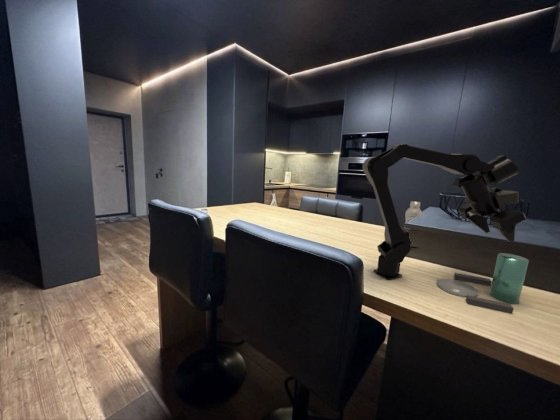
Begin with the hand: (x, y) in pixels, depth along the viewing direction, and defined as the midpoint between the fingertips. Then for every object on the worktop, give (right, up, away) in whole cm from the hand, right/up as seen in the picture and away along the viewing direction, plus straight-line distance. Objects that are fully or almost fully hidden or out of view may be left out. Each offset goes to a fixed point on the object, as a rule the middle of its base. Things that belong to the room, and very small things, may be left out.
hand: (499, 236), depth 72 cm
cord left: (-6, -15, +3) cm, 16 cm away
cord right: (-13, -17, -11) cm, 24 cm away
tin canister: (-4, -16, -6) cm, 18 cm away
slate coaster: (-14, -15, -2) cm, 21 cm away
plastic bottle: (-8, -8, +35) cm, 37 cm away
